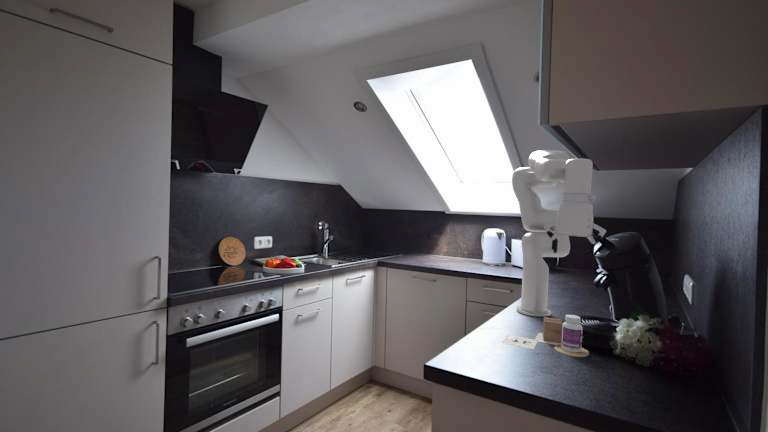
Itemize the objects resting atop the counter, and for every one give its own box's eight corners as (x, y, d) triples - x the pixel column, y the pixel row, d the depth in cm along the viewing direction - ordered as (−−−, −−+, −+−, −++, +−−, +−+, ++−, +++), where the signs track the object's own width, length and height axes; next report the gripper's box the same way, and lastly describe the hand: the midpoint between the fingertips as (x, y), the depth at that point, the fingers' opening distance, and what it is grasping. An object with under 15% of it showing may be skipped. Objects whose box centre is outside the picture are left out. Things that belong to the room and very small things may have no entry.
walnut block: (542, 335, 124) (543, 317, 124) (559, 338, 122) (560, 319, 122) (543, 340, 119) (544, 321, 119) (561, 343, 117) (562, 323, 117)
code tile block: (538, 333, 127) (538, 332, 127) (568, 339, 122) (568, 338, 122) (534, 341, 119) (534, 340, 119) (566, 347, 114) (566, 346, 114)
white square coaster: (508, 335, 124) (508, 334, 124) (538, 341, 119) (538, 340, 119) (501, 343, 116) (501, 342, 116) (533, 350, 111) (533, 349, 111)
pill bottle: (585, 353, 109) (587, 319, 109) (566, 352, 109) (567, 318, 109) (576, 346, 114) (577, 314, 114) (557, 345, 114) (559, 313, 114)
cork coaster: (556, 343, 118) (556, 341, 118) (589, 349, 113) (589, 348, 113) (552, 352, 110) (552, 351, 110) (588, 359, 105) (588, 358, 105)
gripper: (608, 200, 118) (604, 256, 119) (547, 197, 127) (544, 249, 128) (608, 201, 111) (603, 259, 113) (544, 198, 120) (540, 252, 122)
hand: (572, 254), depth 120 cm, fingers open, 9 cm apart
